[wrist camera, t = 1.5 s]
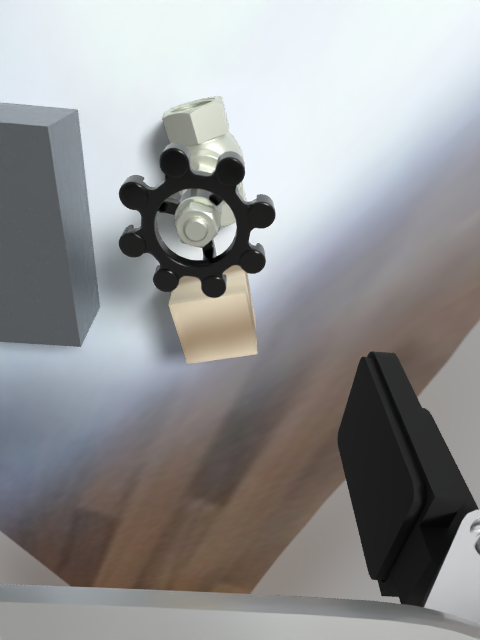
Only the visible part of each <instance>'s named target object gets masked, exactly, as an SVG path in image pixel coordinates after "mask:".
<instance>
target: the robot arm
mask: <svg viewBox="0 0 480 640" xmlns="http://www.w3.org/2000/svg"><path fill="white" fill-rule="evenodd" d="M338 447H339V451H340V456H341V460H342V464H343V468H344V472H345V477H346V481H347V485H348V489H349V493H350V497H351V502H352V506H353V510H354V514H355V518H356V522H357V526H358V531H359V535H360V539H361V543H362V547H363V551H364V556H365V560H366V564H367V568H368V572H369V575H370V577H371V579H373V580H378V583H379V587H380V591H381V595H382V596H392V597H399V598H400V602H401V604H396V603H387V602H378V601H366V600H349V599H334V598H333V599H332V598H317V597H301V596H281V595H258V594H235V593H212V592H190V591H166V590H141V589H115V588H89V587H62V586H61V587H60V586H36V585H8V584H0V640H480V510H479V509H478V507H477V505H476V503H475V501H474V499H473V497H472V495H471V493H470V491H469V489H468V487H467V485H466V483H465V481H464V479H463V477H462V475H461V473H460V471H459V469H458V467H457V465H456V463H455V461H454V459H453V457H452V455H451V453H450V451H449V449H448V447H447V445H446V443H445V441H444V439H443V437H442V435H441V433H440V431H439V429H438V427H437V425H436V423H435V421H434V419H433V417H432V415H431V414H430V412H429V411H428V410H426V409H425V408H422V407H421V405H420V403H419V401H418V399H417V397H416V394H415V392H414V390H413V388H412V386H411V384H410V382H409V380H408V378H407V376H406V374H405V372H404V370H403V368H402V366H401V364H400V361H399V359H398V357H397V356H396V354H394V353H386V352H370V353H369V354H368V356H367V357H362V358H361V359H360V362H359V365H358V368H357V372H356V375H355V378H354V382H353V385H352V388H351V392H350V395H349V398H348V402H347V405H346V408H345V412H344V415H343V418H342V422H341V425H340V428H339V432H338Z"/></svg>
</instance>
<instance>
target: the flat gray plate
mask: <svg viewBox="0 0 480 640" xmlns="http://www.w3.org/2000/svg"><path fill="white" fill-rule="evenodd" d="M99 308H100V305H99V296H98V287H97V278H96V269H95V260H94V251H93V242H92V233H91V224H90V215H89V207H88V198H87V189H86V180H85V171H84V162H83V153H82V144H81V135H80V126H79V117H78V110H75V109H64V108H53V107H42V106H31V105H20V104H9V103H0V342H15V343H31V344H46V345H62V346H78V347H81V345H82V343H83V341H84V339H85V337H86V335H87V333H88V331H89V328H90V326H91V324H92V322H93V320H94V318H95V316H96V314H97V312H98V310H99Z"/></svg>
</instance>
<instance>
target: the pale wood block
mask: <svg viewBox="0 0 480 640" xmlns="http://www.w3.org/2000/svg"><path fill="white" fill-rule="evenodd" d="M223 275H226V276H227V284H226V291H225V293H224V294H223V295H222V296H220V297H218V298H210V297H208V296H206V295H205V294H204V293H203V292H202V290H201V281H200V280H199V279H198V278H196V277H190V276H183V277H182V278H180V280H179V284H178V286H177V288H176V289H175V290H173V291H172V292H171V297H170V301H169V308H170V311H171V314H172V318H173V321H174V324H175V327H176V330H177V333H178V336H179V340H180V343H181V346H182V349H183V352H184V355H185V358H186V362H187V364H191V363H198V362H205V361H212V360H219V359H226V358H233V357H240V356H247V355H254V354H257V340H256V324H255V313H254V307H253V302H252V297H251V292H250V286H249V281H248V276H247V272H245V271H243V270H242V268H241V267H240V266H238V265H234V266H231V267H230V268H228V269H227V270H225V271H224V272H223Z"/></svg>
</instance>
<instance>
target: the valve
mask: <svg viewBox="0 0 480 640" xmlns="http://www.w3.org/2000/svg"><path fill="white" fill-rule="evenodd" d="M162 120H163V123H164V126H165V129H166V132H167V136H168V139H169V142H170V144H169V145H167V146H166V147H165V149H164V151H163V152H162V154H161V156H160V160H159V162H160V168H161V170H162V171H163V173H164V174H165V179H164V180H163V181H162V182H160V183H159V184H158V185H157V186H156V187H149V186H148V185H146V184H145V183H144V182H143V180H144V177H142V176H139V175H133V176H130V177H128V178H127V179H126V180H125V182H124V183H123V185H122V186H121V188H120V190H119V197H120V200H121V202H122V204H123V205H124V206H126V207H127V208H129V209H132V210H137V211H139V212H140V214H141V227H140V228H137V229H134V227H133V225H129V226H128V227H126V229H125V230H124V232H123V234H122V236H121V237H120V240H119V247H120V249H121V251H122V252H123V253H124V254H125V255H127V256H129V257H139V256H141V255H142V254H143V253H150V254H152V255H153V256H154V257H155V258H156V259H157V260H158V262H159V263H160V266H159V265H158V266H157V268H156V271H155V274H154V277H153V282H154V285H155V286H156V287H157V288H158V289H159V290H161V291H164V292H170V291H173V290H175V289H176V288H177V286H178V284H179V280H180V278H182V277H183V276H190V277H196V278H198V279H199V280H200V281H201V290H202V292H203V293H204V294H205V295H206V296H208V297H210V298H218V297H220V296H222V295H223V294H224V293H225V291H226V284H227V276H226V275H223V272H224V271H225V270H227V269H228V268H230V267H231V266H234V265H238V266H240V267H241V268H242V270H243V271H245V272H247V273H251V274H254V273H258V272H260V271H261V270H262V269H263V268H264V266H265V263H266V260H265V252H264V248H263V246H262V245H261V244H259V243H257V245H256V246H254V245H251V244H250V243H249V236H250V232H251V230H252V229H254V228H266V227H268V226H270V225H271V224H272V223H273V221H274V219H275V208H274V204H273V201H272V200H271V198H270V197H268V196H266V195H262V194H260V195H257V199H255V200H253V201H251V202H247V200H246V195H245V191H244V187H243V183H242V180H243V178H244V175H245V165H244V159H243V154H242V151H241V148H240V146H239V144H238V142H237V141H236V139H235V138H234V136H233V135H232V134H231V133H230V132H229V124H228V119H227V115H226V111H225V107H224V103H223V98H222V97H220V96H215V97H208V98H203V99H199V100H195V101H192V102H188V103H185V104H182V105H179V106H176V107H174V108H171V109H169V110H167V111H165V112H164V113H163V117H162ZM176 192H179V194H180V196H181V198H180V200H179V201H178V200H174V199H170V198H168V197H170V196H171V195H173V194H174V193H176ZM158 213H169V214H172V215H175V217H174V222H175V226H176V229H177V232H178V235H179V238H180V240H181V242H182V243H185V244H188V245H191V246H195V247H200V248H202V249H203V260H189V259H186V258H183V257H181V256H179V255H177V254H175V253H174V252H173V251H171V250H170V249H169V248H168V247H167V246H166V245H165V244H164V242H163V241H162V239H161V237H160V235H159V232H158V229H157V215H158ZM235 222H236V225H237V229H236V235H235V237H234V239H233V242H232V243H231V245H230V246H229V247H228V249H227V250H226V251H224V252H223V253H222V254H220V255H218V256H216V250H215V245H214V240H213V238H214V237H215V236H216V235H217V233H218V231H219V229H220V227H224V226H227V225H230V224H233V223H235Z"/></svg>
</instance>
